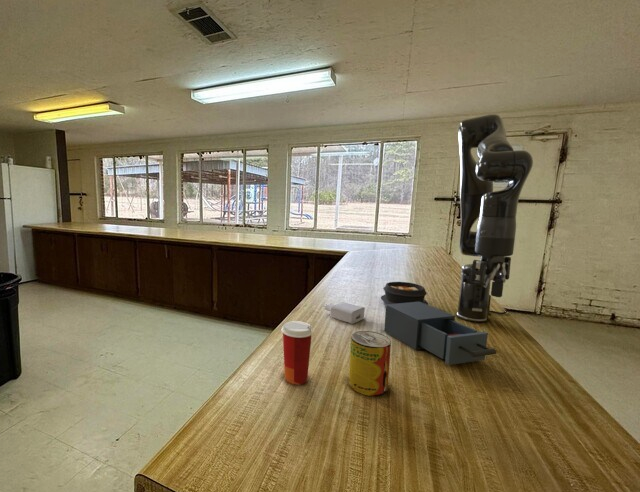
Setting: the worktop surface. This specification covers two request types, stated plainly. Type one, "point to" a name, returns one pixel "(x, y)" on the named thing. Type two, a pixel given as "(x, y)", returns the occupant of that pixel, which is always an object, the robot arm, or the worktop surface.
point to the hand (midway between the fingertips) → (488, 298)
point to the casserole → (403, 293)
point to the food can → (369, 363)
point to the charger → (346, 312)
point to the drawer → (453, 341)
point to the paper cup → (296, 351)
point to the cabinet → (410, 320)
